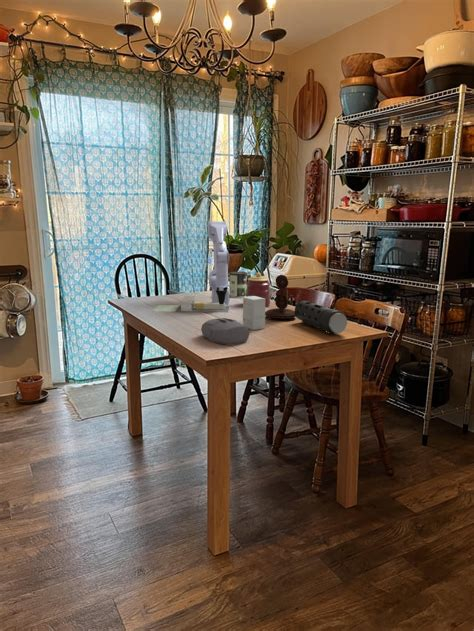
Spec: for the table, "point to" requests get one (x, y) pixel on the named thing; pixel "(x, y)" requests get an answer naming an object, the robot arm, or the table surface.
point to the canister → (259, 287)
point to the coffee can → (238, 284)
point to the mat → (178, 309)
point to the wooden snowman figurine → (281, 301)
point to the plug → (209, 306)
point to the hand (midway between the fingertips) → (221, 302)
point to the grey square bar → (188, 303)
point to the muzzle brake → (321, 317)
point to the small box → (254, 312)
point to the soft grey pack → (225, 331)
